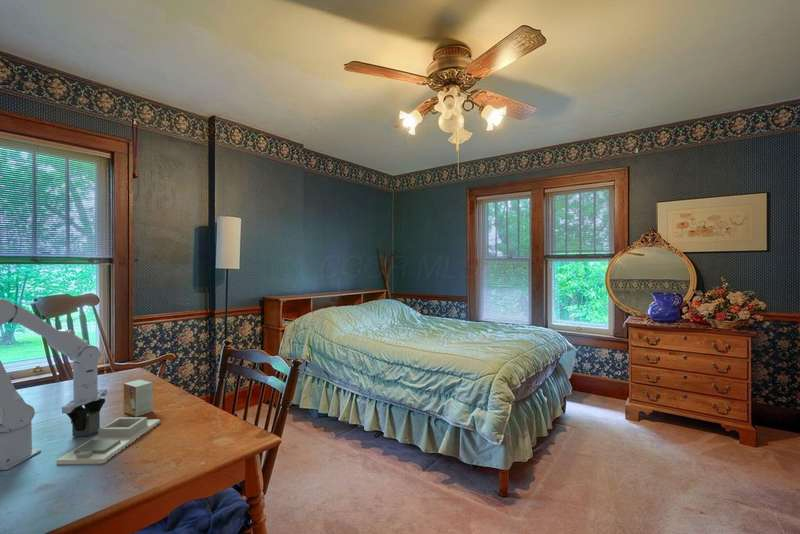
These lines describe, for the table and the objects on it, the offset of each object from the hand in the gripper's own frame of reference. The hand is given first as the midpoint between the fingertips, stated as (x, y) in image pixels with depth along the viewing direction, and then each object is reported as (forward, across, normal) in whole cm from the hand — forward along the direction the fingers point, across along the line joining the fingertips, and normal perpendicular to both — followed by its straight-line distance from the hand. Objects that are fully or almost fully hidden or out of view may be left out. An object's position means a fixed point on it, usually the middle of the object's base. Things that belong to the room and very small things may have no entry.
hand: (86, 427), depth 112 cm
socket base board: (+2, -5, -12) cm, 13 cm away
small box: (+2, +16, -5) cm, 17 cm away
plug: (+2, 0, 0) cm, 2 cm away
